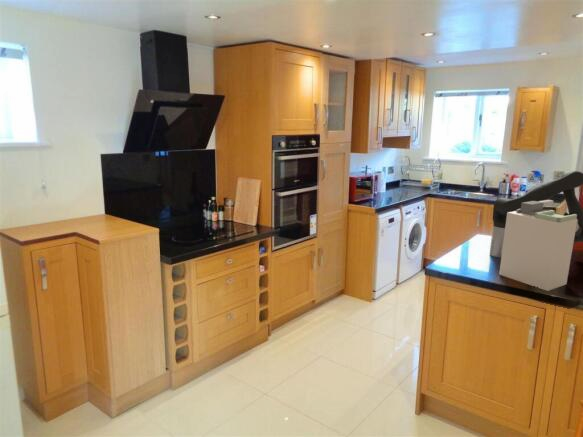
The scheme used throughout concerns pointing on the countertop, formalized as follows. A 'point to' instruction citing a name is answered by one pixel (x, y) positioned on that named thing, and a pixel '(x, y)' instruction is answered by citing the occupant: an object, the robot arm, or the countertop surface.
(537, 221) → the cabinet
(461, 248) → the countertop surface
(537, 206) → the light grey rectangular prism
